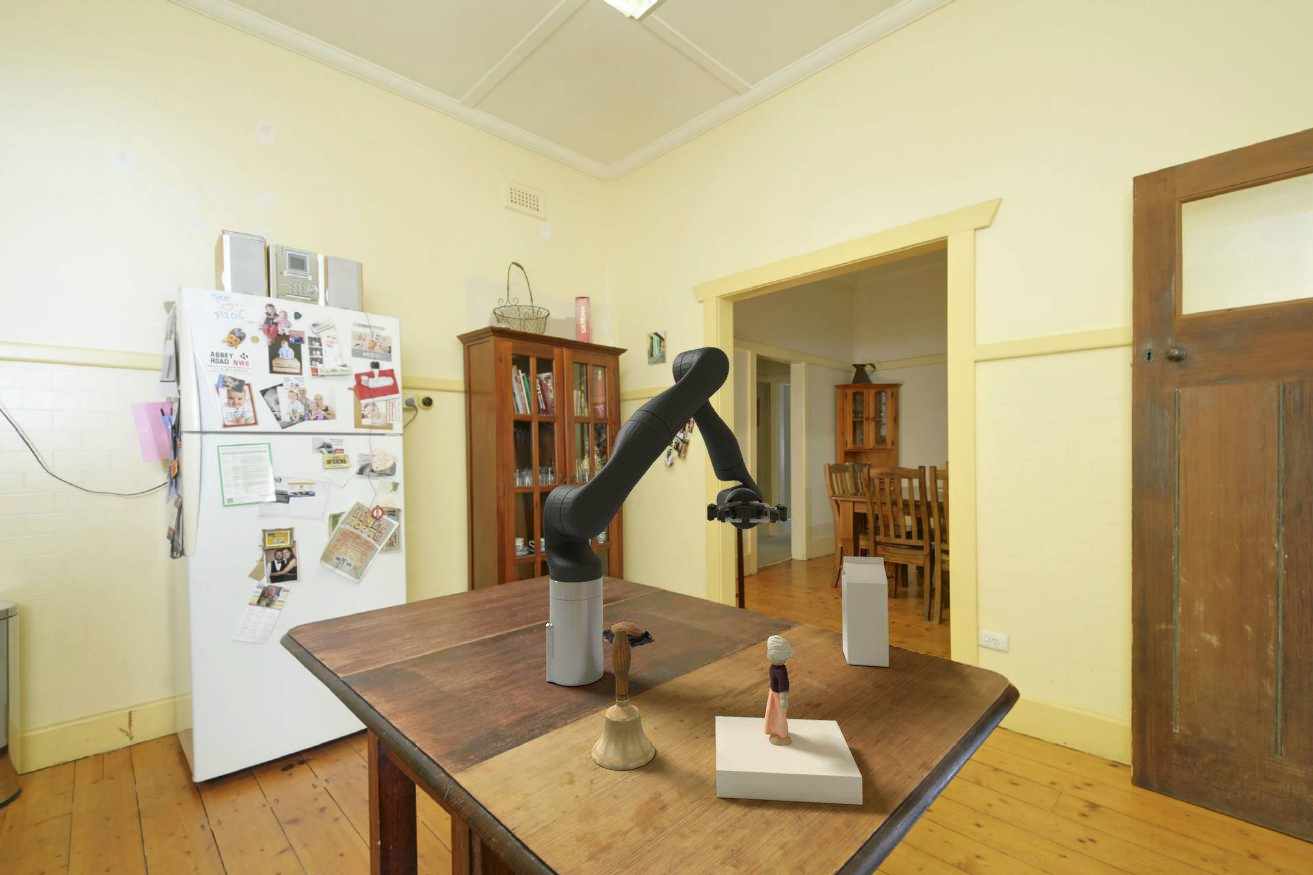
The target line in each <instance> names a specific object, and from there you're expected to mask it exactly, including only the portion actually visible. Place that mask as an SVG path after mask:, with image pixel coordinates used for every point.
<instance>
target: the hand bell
mask: <svg viewBox="0 0 1313 875" xmlns="http://www.w3.org/2000/svg"><path fill="white" fill-rule="evenodd" d="M610 648H611V649H610V650H611V651H610V656H611V665H612V669H613V672H614V677H615V704H614V705H612V706H610V707H609V708H607V709H606V712H605V718H604V724H603V729H602V733H601V735H600V738H599V739H598V740H597V741H596V742H595V743H594V745H593V746H592V749H591V751H590V754H591V759H592V761H593V762H594V763H595V764H596V765H598V766H600V767H602V768H604V769H607V770H612V771H628V770H634V769H637V768H641V767H642V766H645V765H646V764H648V763H649V762H650V761H652V759H654V758H655V754H656V748H655V745H654V744H653V742H652V740H651V739H650V738H648V737H647V735H646V733H645V732H644V731H645V730H644V728H643V725H642V719H641V713H640V712H641V711H640V710H639V708H638V707H637V706H636V705H633V704H631V703H630V697H629V696H630V695H629V683H628V677H629V676H628V675H629V672H630V668H631V661H632V650H631V649H632V648H630V644H629V640H628V638H627V635H626V631H625V629H624V628H617V629H616V631H615V636H614V639H613V643H611V647H610Z"/></svg>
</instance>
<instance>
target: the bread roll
mask: <svg viewBox="0 0 1313 875" xmlns="http://www.w3.org/2000/svg"><path fill="white" fill-rule="evenodd" d="M617 628H624V629H625V631H626V635H627V638H628V640H629V644H630V649H633V648H635V647H636V648H637V647H640V646H641V645H642V646H643V645H646V644H649V643H651V642H653V641H654V639H653V637H652V635H651V634H650V632H649V631H647V630H645V631H643V630H642V629H641V628H640V626H638V625H637V624H635V623H633V622H630V621H622V622H618V623H615V624H613V625H611V626H610V629H605V630H604V629H603V642H604V641H605V642H607V643H609V644H612V643H613V639H614V636H615V631H616V629H617Z"/></svg>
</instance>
